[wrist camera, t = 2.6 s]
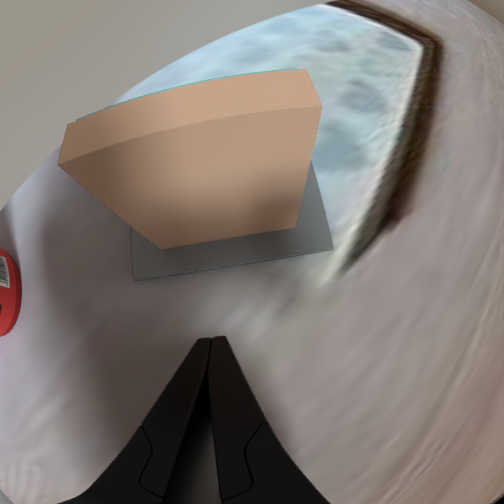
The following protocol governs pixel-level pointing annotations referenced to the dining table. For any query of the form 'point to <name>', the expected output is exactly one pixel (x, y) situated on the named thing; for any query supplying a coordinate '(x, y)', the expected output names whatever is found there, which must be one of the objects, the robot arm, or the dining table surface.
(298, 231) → the mat
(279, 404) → the dining table surface
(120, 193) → the tile
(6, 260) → the canned food
